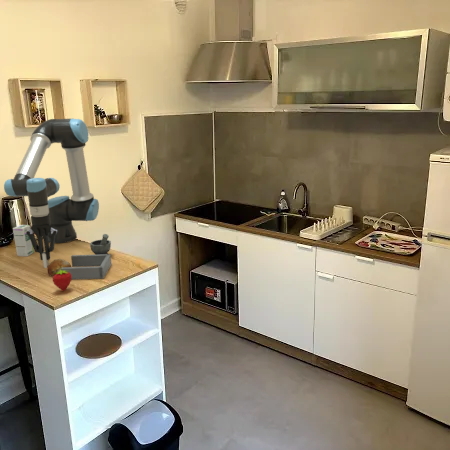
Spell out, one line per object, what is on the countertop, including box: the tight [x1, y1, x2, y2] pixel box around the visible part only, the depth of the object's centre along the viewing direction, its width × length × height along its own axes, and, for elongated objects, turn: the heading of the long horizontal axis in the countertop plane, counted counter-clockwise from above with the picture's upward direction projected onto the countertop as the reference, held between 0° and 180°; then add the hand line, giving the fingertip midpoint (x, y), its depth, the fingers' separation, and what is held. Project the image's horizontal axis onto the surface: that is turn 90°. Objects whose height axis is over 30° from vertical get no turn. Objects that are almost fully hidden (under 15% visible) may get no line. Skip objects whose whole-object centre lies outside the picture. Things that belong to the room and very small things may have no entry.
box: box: [61, 253, 112, 281], centre depth 202 cm, size 17×18×5 cm
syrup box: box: [12, 224, 35, 257], centre depth 224 cm, size 6×6×14 cm
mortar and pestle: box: [89, 233, 112, 255], centre depth 220 cm, size 11×9×12 cm
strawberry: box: [52, 270, 72, 292], centre depth 182 cm, size 6×8×10 cm
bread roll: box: [46, 258, 72, 278], centre depth 201 cm, size 10×10×8 cm
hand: (46, 266), depth 201 cm, fingers closed
